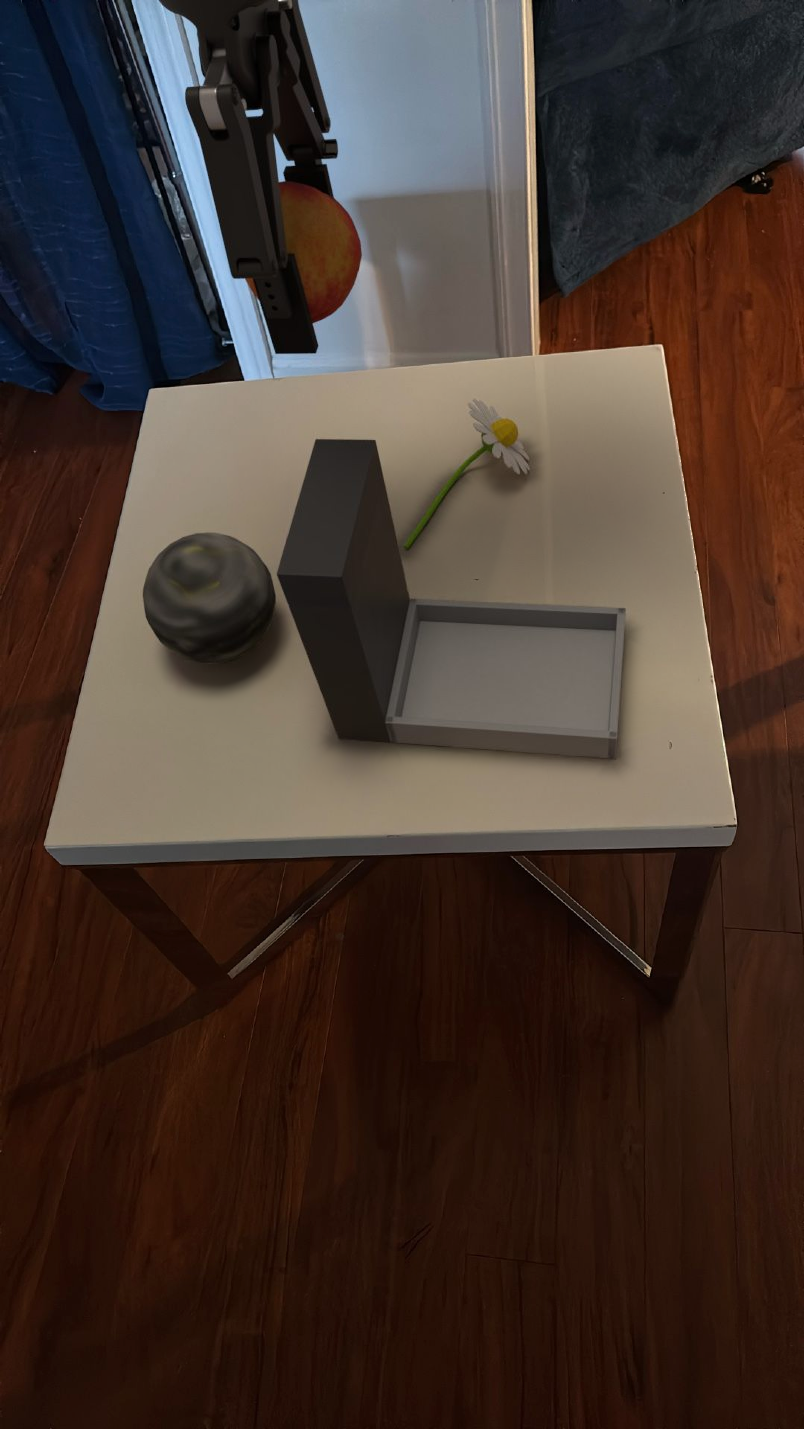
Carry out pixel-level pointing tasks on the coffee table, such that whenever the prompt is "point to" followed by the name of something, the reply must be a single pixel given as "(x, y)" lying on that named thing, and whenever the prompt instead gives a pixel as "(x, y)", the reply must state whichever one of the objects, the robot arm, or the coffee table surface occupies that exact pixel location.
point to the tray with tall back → (435, 635)
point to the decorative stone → (209, 598)
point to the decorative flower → (495, 440)
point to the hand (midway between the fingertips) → (312, 303)
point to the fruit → (319, 246)
